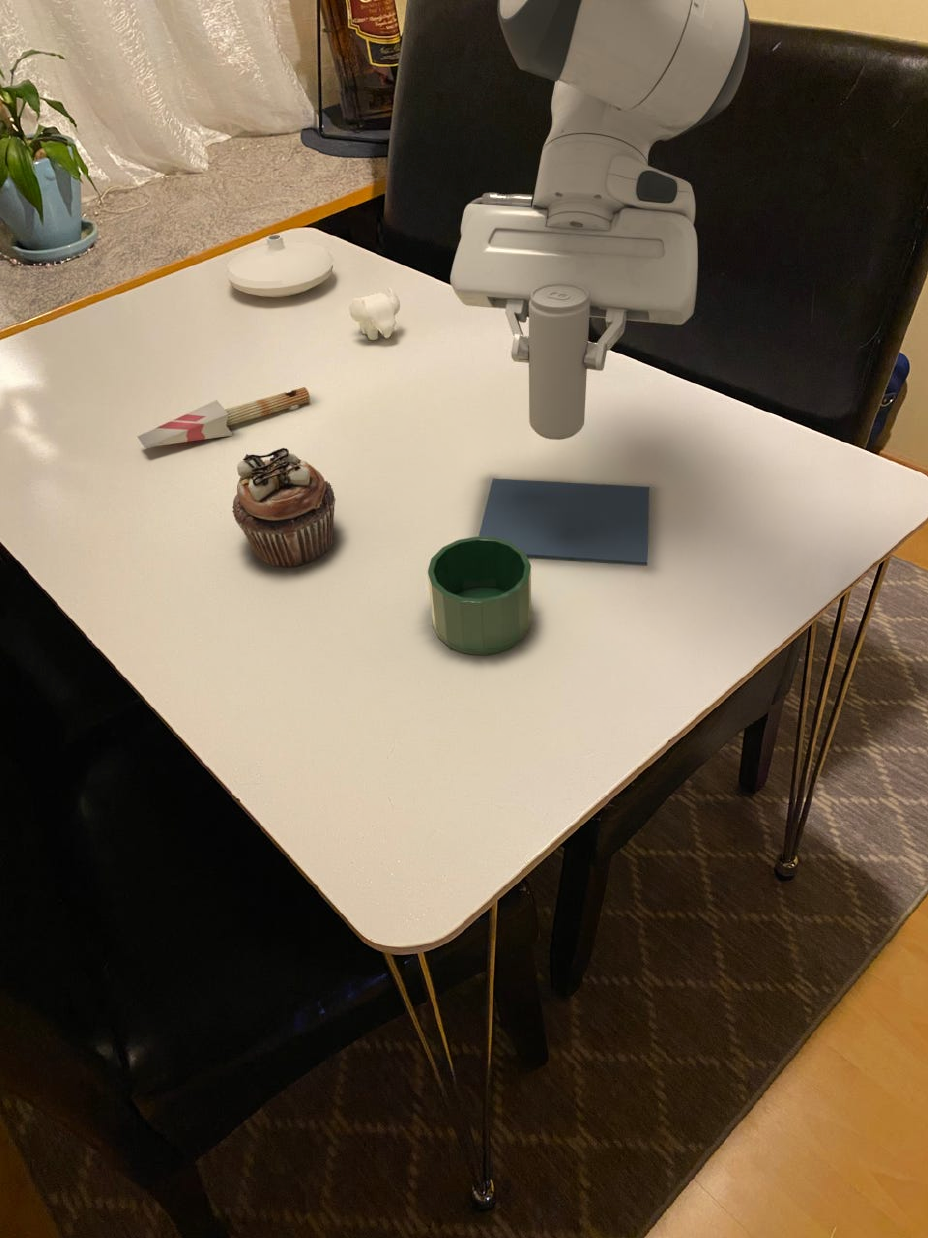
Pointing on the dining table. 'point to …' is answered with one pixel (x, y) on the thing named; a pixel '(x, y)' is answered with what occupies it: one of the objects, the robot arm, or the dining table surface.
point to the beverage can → (558, 359)
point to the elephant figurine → (376, 313)
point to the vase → (279, 268)
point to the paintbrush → (219, 419)
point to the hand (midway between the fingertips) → (557, 364)
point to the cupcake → (284, 508)
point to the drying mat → (570, 520)
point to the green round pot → (480, 594)
